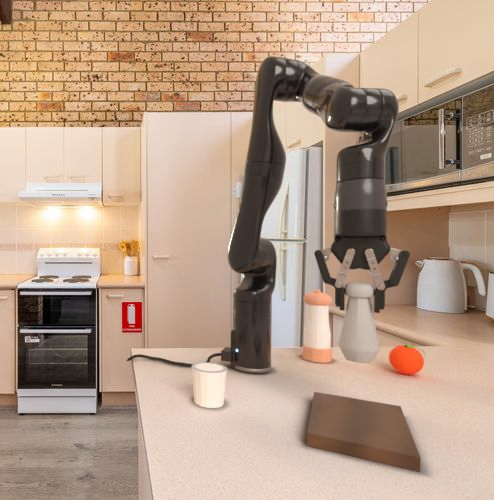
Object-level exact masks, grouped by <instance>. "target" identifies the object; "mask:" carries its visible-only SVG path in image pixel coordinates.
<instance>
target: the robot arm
mask: <svg viewBox="0 0 494 500" xmlns="http://www.w3.org/2000/svg"><path fill="white" fill-rule="evenodd" d="M253 93H254V94H253V104H252V117H251V118H252V119H251V127H250V128H251V129H250V135H249V140H248V146H247V150H246V151H247V152H246V156H245V161H244V162H245V163H244V166H243V167H244V169H243V175H242V182H241V188H240V189H241V190H240V195H239V200H238V207H237V211H236V216H235V219H234V224H233V228H232V231H231V235H230V239H229V243H228V247H227V254H226V255H227V262H228V265H229V267H230V268H231V270H233V271H234V273H237V274H240V275H241V274H242V279H241V282H239V284H238V285H237V286H235V288H233V291H232V295H233V296H232V329H231V330H230V347H229V346H225V347H224V348H222V350H220V352H217V353H212V354H211V355H209V356H208V357H207V359H206V361H205V362H208V363H211V360H212V359H213V358H216V357H220V361H221V362H228V363H230V367H229V368H230V369H234V370H237V371H240V372H243V373H247V374H248V373H249V374H267V373H270V372H272V319H273V318H272V317H273V316H272V314H273V313H272V312H273V311H272V310H273V309H272V307H273V306H272V305H273V303H272V300H273V293H274V291H275V288H276V280H277V261H278V259H277V257H278V256H277V251H276V247H275V245H274V244H273V242H272V241H271V240H270V239H268V238H265V237H263V236H262V237H261V235H262V230H263V224H264V220H265V217H266V215H267V213H268V211H269V209H270V208H271V206H272V204H273V202H274V201H275V200H276V197H277V196H278V194H279V192H280V190H281V188H282V185H283V182H284V181H283V180H284V175H285V170H286V164H287V155H286V151H285V150H286V149H285V148H284V145H283V142H282V139H281V137H280V134H279V133H278V130H277V128H276V127H277V126H276V124H275V120H274V101H275V102H282V103H301V105H302V106H303V108H304V109H305V110H306V111H308V112H310V113H311V114H313V115H314V116H316V117H319V118H320V119H321V121H322V123H323V124H324V126H325V127H326V128H327V129H329V130H330V131H334V132H338V133H359V134H361V133H362V136H361V138H360V142H359V143H358V144H352V145H348V146H346V147H343V148H342V149H340V150H339V151H338V152H337V154H336V159H335V161H336V162H335V167H336V169H335V189H334V196H333V197H334V198H333V241H332V243H331V246H330V247H327V248H323V249H317V250H315V251H314V253H313V254H314V258H315V261H316V264H317V266H318V270H319V272H320V275H321V278H322V282H323V283H324V284H326V285H330V286H332V287H333V288H334V304H335V307H337V308H338V307H339V311H345V305H346V304H345V300H346V299H345V296H346V295H345V287H344V285H345V284H344V283H345V282H346V278H347V276H348V274H349V271H350V270H358V269H361V270H365V271H369V273H370V276H371V278H372V281H373V284H374V296H373V314H374V313H375V314H380V313H381V311H382V310H384V309H385V307H386V290H387V289H390V288H395V287H398V286H399V285H400V283H401V280H402V277H403V274H404V272H405V269H406V267H407V263H408V261H409V259H410V255H411V252H409V250H401V249H397V248H393V247H391V246H390V243H389V242H388V239H387V237H388V236H387V235H388V231H387V229H388V227H387V226H388V206H389V205H388V203H389V202H388V192H387V185H386V155H387V152H388V148H389V145H390V143H391V138H392V136H393V132H394V129H395V126H396V123H397V121H398V117H399V112H400V106H399V105H400V104H399V100H398V97H397V96H396V94H395V92H393V91H392V90H390V89H388V88H377V87H355V86H354V85H353V84H352V83H350V82H348V81H347V80H343V79H340V78H338V77H335V76H334V77H333V76H330V75H325V74H321V73H319V72H318V71H317V70H315V69H314V68H313V67H312V66H311V65H309V64H307V63H306V62H304V61H302V60H299V59H293V58H286V57H281V56H274V55H273V56H267V57H265V58H264V59H263V60H262V62H261V63H260V65H259V68H258V71H257V73H256V77H255V83H254V92H253ZM331 254H332V255H333V256H334V257H335V258H336V259H337V261H338V262H339V263H340V268H339V270H338V273H337V276H336V278H335V277H332V276H331V274H330V271H329V267H328V265H327V262H328V261H329V260H330V255H331ZM388 254H389V255H390V261H392V262H393V263H394V264H393V267H392V269H391V272H390V275H389V277H388V278H387V279H383V275H382V272H381V268H380V266H379V264H381V262H382V261H383V260H384V259H385V258H386V257H387V255H388ZM136 358H143V359H148V360H152V361H157V362H163V363H166V364H168V365H173V366H180V367H187V368H192V365H193V364H194V363H187V362H181V361H173V360H170V359H166V358H162V357H158V356H157V357H156V356H151V355H146V354H141V353H139V354H133V355H131V356H129V357H128V358H127V359H126V362H131V361H132V360H134V359H136Z"/></svg>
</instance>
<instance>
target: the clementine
mask: <svg viewBox="0 0 494 500" xmlns="http://www.w3.org/2000/svg"><path fill="white" fill-rule="evenodd" d="M419 350H420V351H421V352H423V354H422V353H421V352H420V351H419ZM423 355H424V356H425V357H427V356H426V353H425V351H424V350H423V349H421V348H419V347H418V346H414V345H408V344H403V345H402V344H400V345H397V346H395V347H393V348H392V349H391V350H390V352H389V354H388V361H389V364H390V366H392V368H393V370H395V371H396V372H398V373H400V374H402V375H407V376H409V375H415V374H418V373H420V372H421V371H422V369H423V368H424V365H425V359H424V357H423Z"/></svg>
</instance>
